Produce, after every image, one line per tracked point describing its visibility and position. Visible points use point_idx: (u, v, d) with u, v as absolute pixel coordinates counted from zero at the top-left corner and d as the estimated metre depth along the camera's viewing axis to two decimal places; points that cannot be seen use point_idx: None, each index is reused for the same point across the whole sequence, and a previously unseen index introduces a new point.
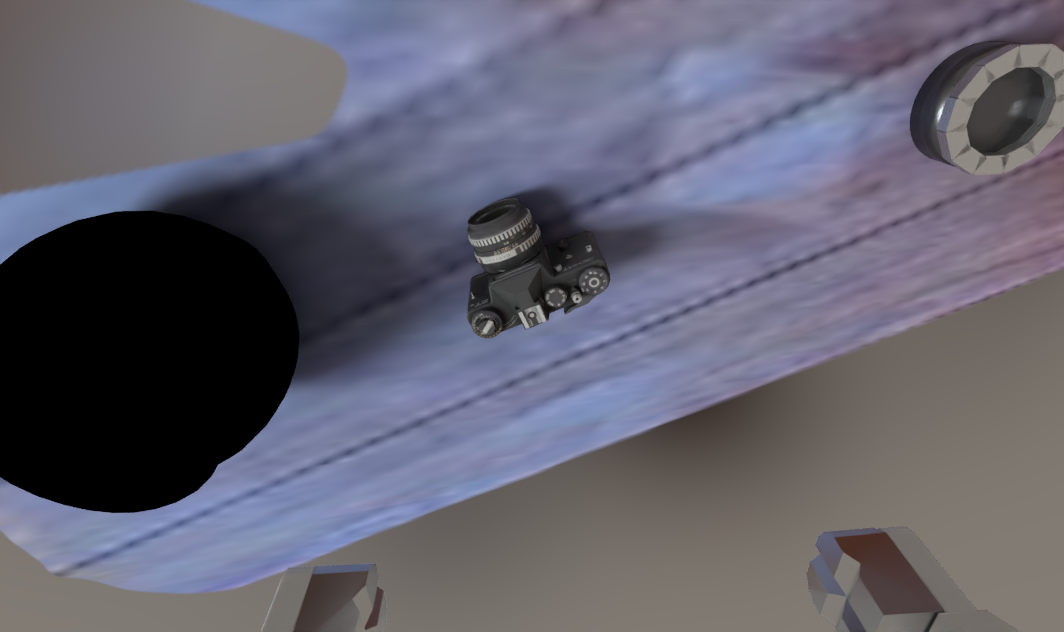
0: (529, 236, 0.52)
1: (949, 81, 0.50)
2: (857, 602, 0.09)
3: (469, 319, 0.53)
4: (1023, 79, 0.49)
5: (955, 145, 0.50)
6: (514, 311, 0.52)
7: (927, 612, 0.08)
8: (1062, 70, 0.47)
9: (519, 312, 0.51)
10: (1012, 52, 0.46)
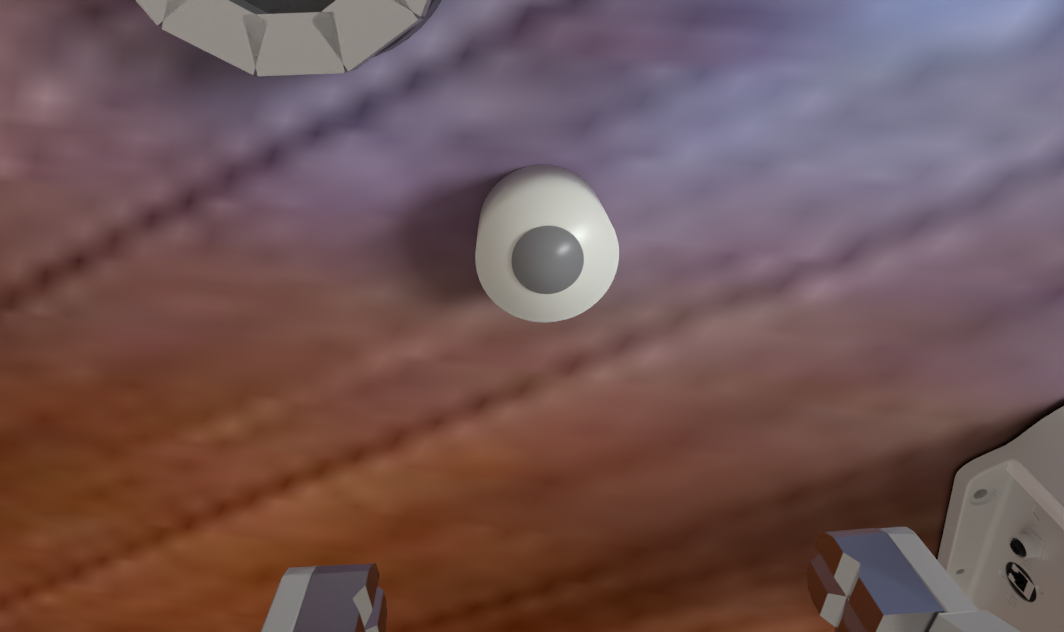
0: None
1: None
2: (858, 603, 0.09)
3: None
4: None
5: None
6: None
7: (927, 612, 0.08)
8: (178, 3, 0.17)
9: None
10: (356, 53, 0.18)
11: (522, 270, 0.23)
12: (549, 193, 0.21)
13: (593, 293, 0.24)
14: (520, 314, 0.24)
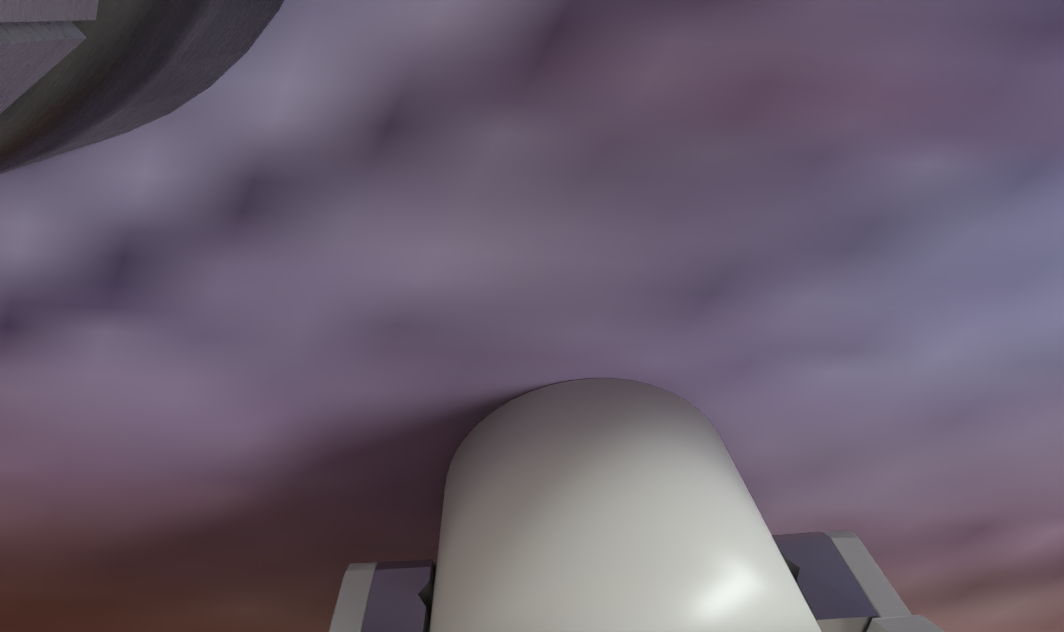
0: None
1: None
2: None
3: None
4: None
5: None
6: None
7: (862, 617, 0.08)
8: None
9: None
10: None
11: None
12: (647, 580, 0.07)
13: None
14: None
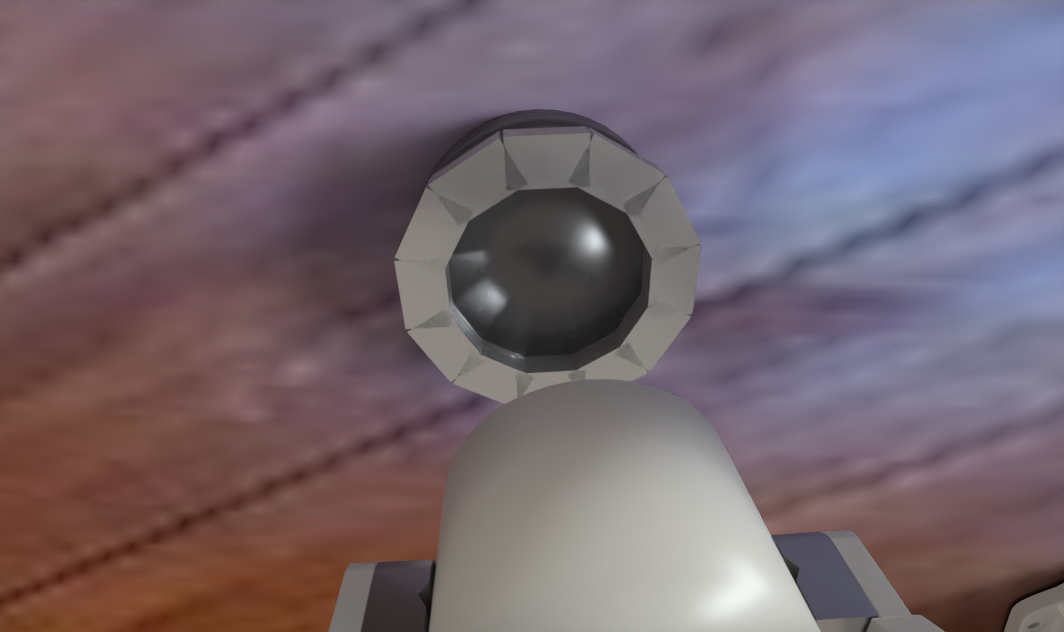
0: None
1: None
2: None
3: None
4: (522, 334, 0.23)
5: (667, 214, 0.19)
6: None
7: (862, 617, 0.08)
8: (470, 369, 0.22)
9: None
10: None
11: None
12: (647, 582, 0.07)
13: None
14: None
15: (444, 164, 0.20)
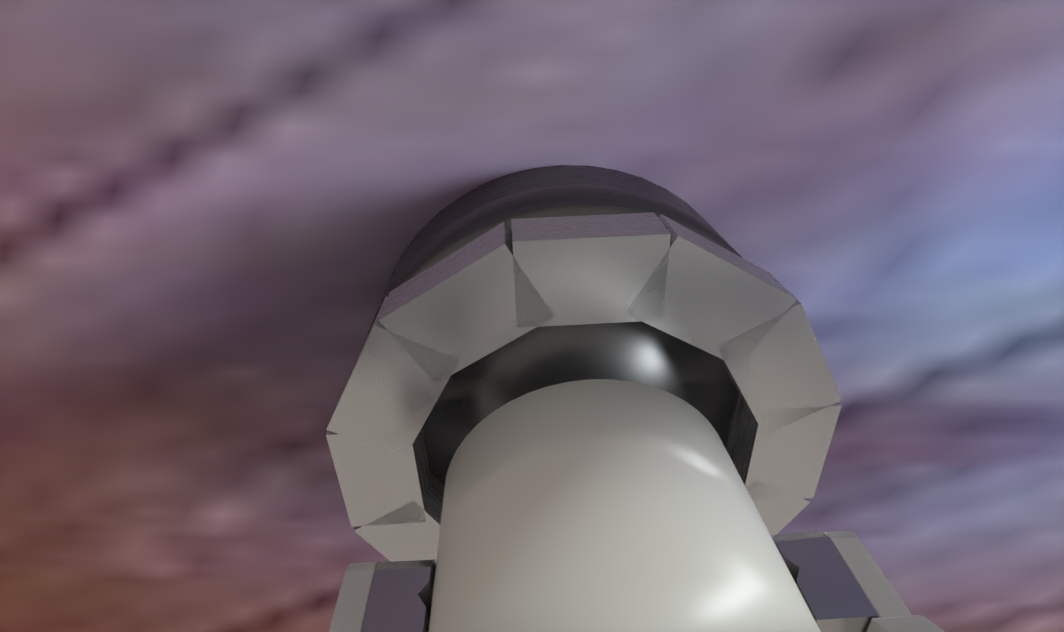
0: None
1: None
2: None
3: None
4: None
5: (791, 359, 0.11)
6: None
7: (861, 617, 0.08)
8: None
9: None
10: None
11: None
12: (647, 582, 0.07)
13: None
14: None
15: (413, 263, 0.12)
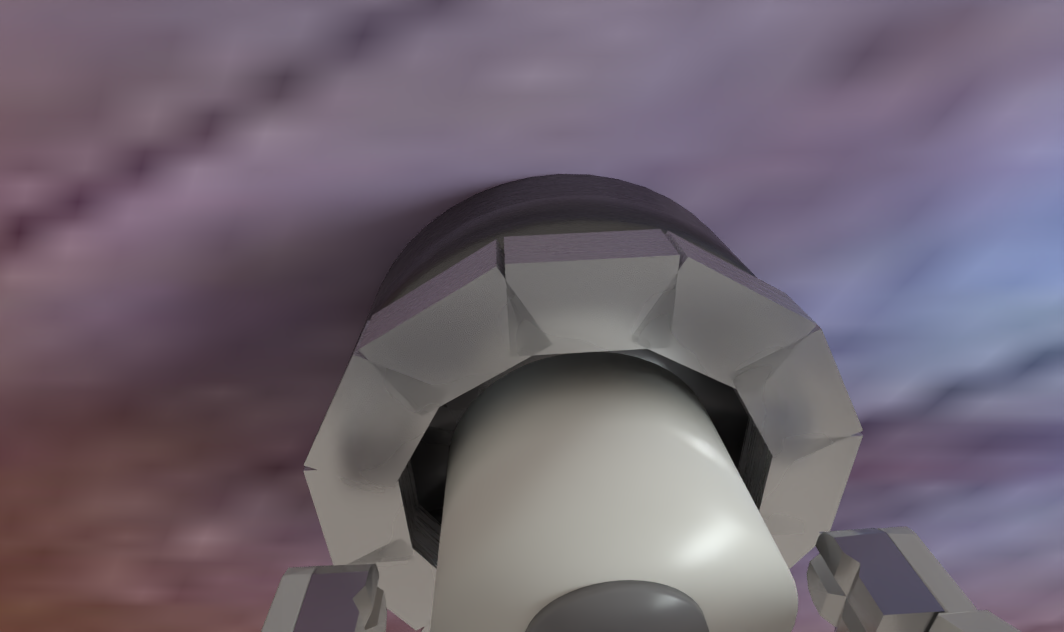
0: None
1: None
2: (857, 602, 0.09)
3: None
4: None
5: (810, 388, 0.10)
6: None
7: (927, 612, 0.08)
8: None
9: None
10: None
11: None
12: (632, 520, 0.08)
13: None
14: None
15: (399, 282, 0.11)
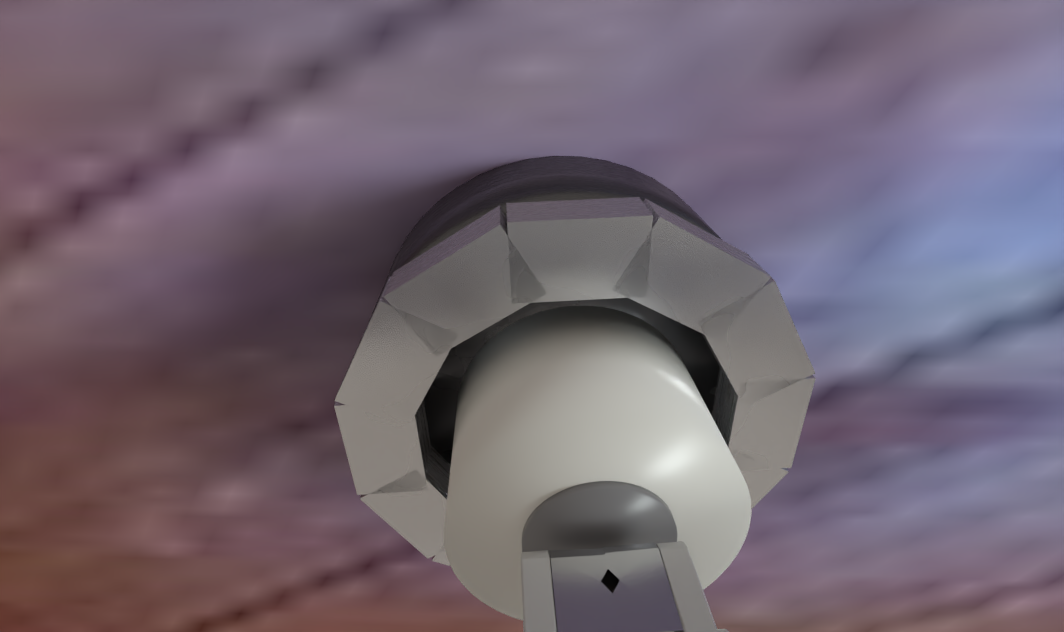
0: None
1: None
2: None
3: None
4: None
5: (767, 334, 0.12)
6: None
7: (667, 631, 0.08)
8: None
9: None
10: None
11: None
12: (610, 425, 0.09)
13: None
14: None
15: (415, 247, 0.13)
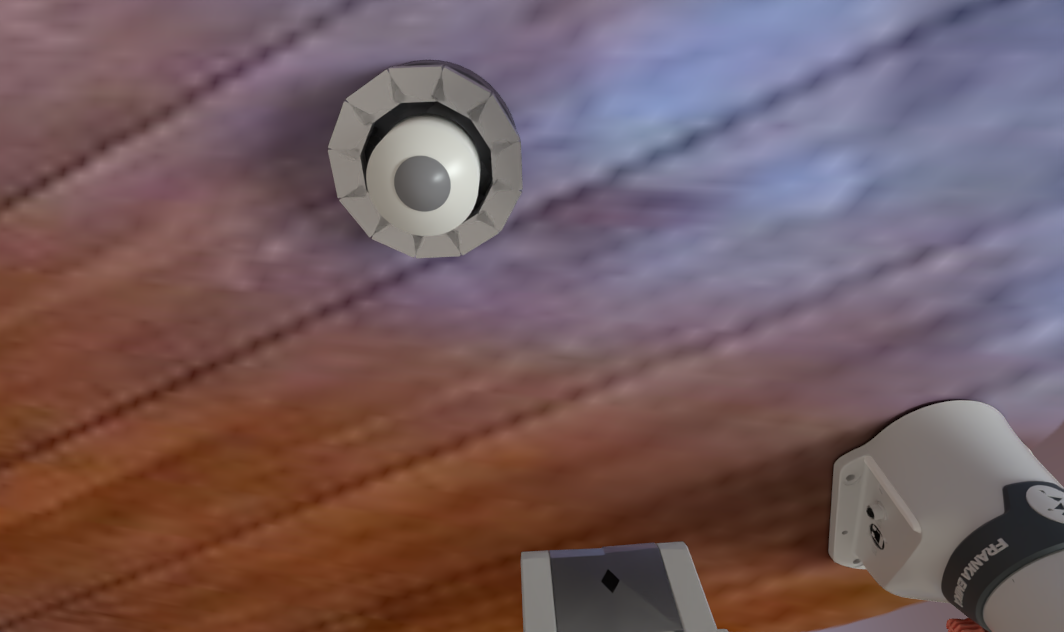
0: None
1: None
2: None
3: None
4: None
5: (495, 119, 0.31)
6: None
7: (668, 631, 0.08)
8: (381, 228, 0.34)
9: None
10: (467, 247, 0.35)
11: (403, 191, 0.30)
12: (418, 129, 0.28)
13: (462, 212, 0.30)
14: (406, 229, 0.31)
15: None
